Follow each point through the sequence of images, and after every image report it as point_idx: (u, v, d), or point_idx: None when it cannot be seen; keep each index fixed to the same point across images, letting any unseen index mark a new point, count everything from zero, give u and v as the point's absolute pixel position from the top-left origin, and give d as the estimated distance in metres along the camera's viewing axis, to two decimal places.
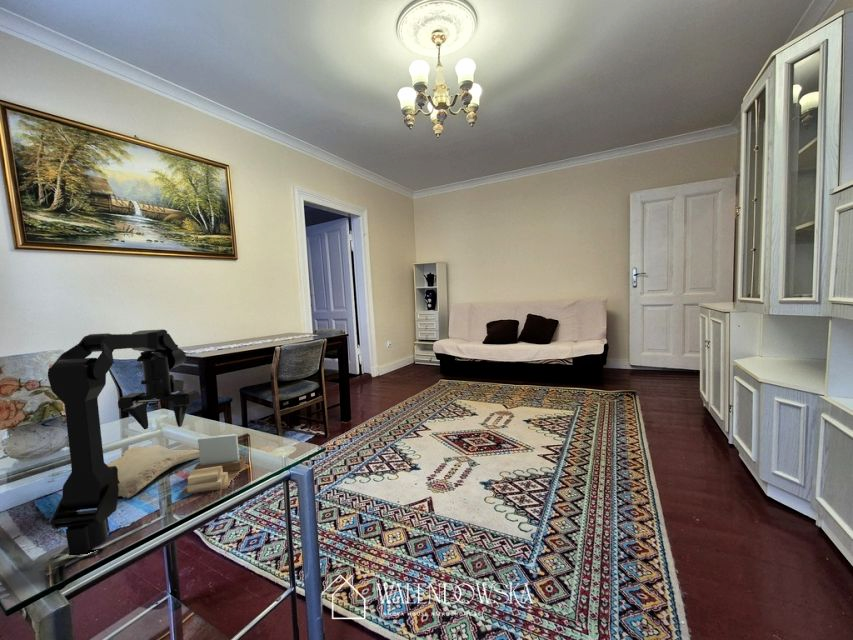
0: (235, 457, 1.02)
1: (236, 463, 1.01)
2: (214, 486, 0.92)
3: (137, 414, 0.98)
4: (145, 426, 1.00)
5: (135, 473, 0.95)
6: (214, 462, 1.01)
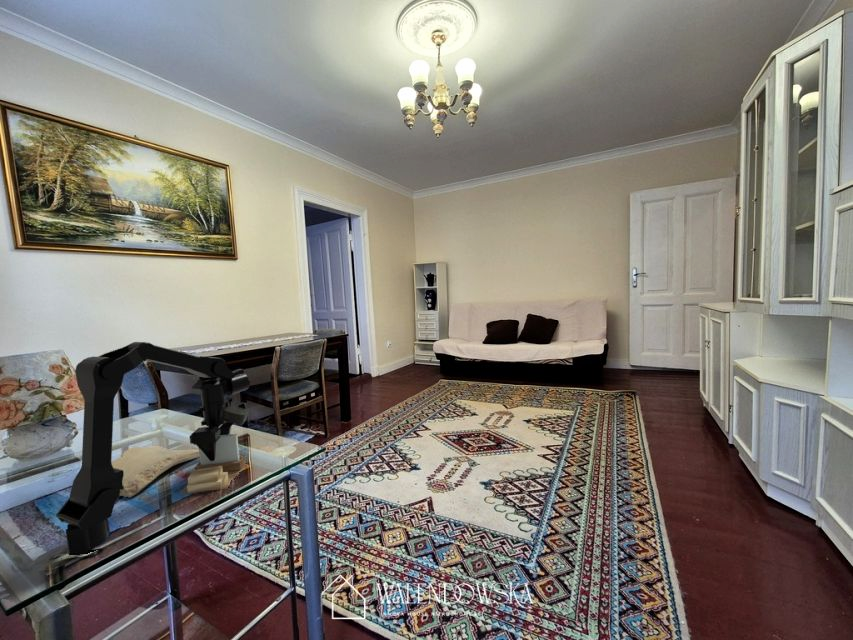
0: (235, 457, 1.02)
1: (236, 463, 1.01)
2: (214, 486, 0.92)
3: None
4: None
5: (136, 473, 0.95)
6: (214, 462, 1.01)
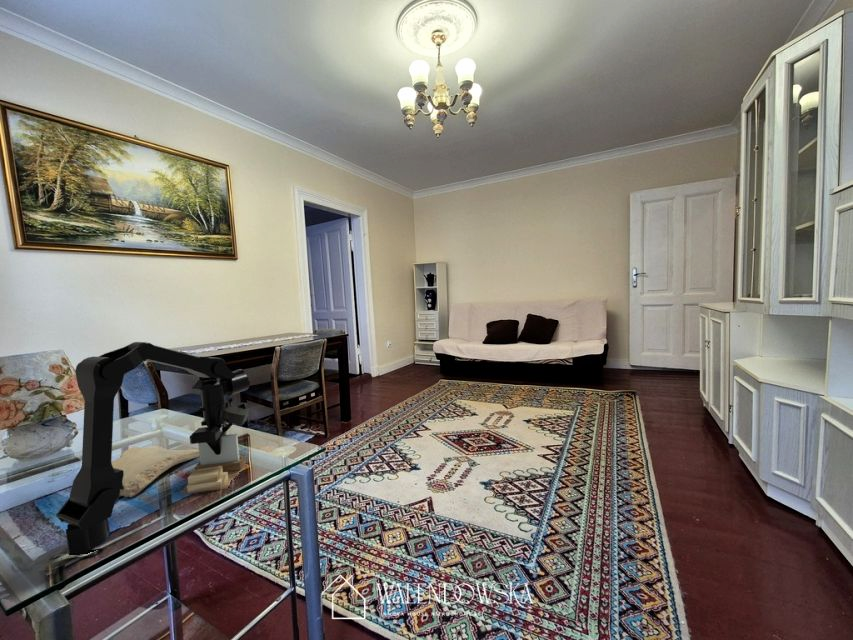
0: (235, 457, 1.02)
1: (236, 463, 1.01)
2: (214, 486, 0.92)
3: None
4: None
5: (136, 473, 0.95)
6: (214, 462, 1.01)
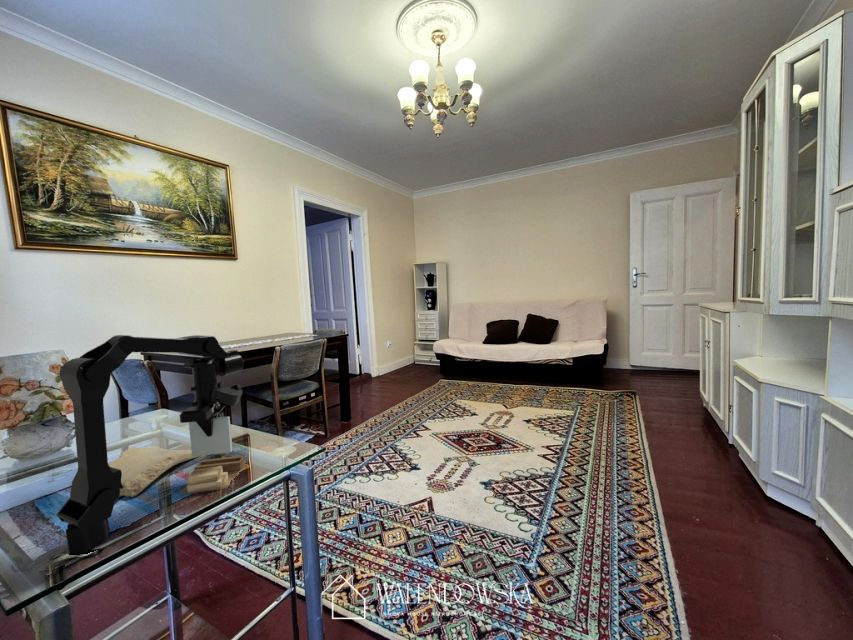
0: (227, 440, 0.99)
1: (236, 463, 1.01)
2: (214, 486, 0.92)
3: None
4: None
5: (137, 473, 0.95)
6: (205, 445, 0.98)
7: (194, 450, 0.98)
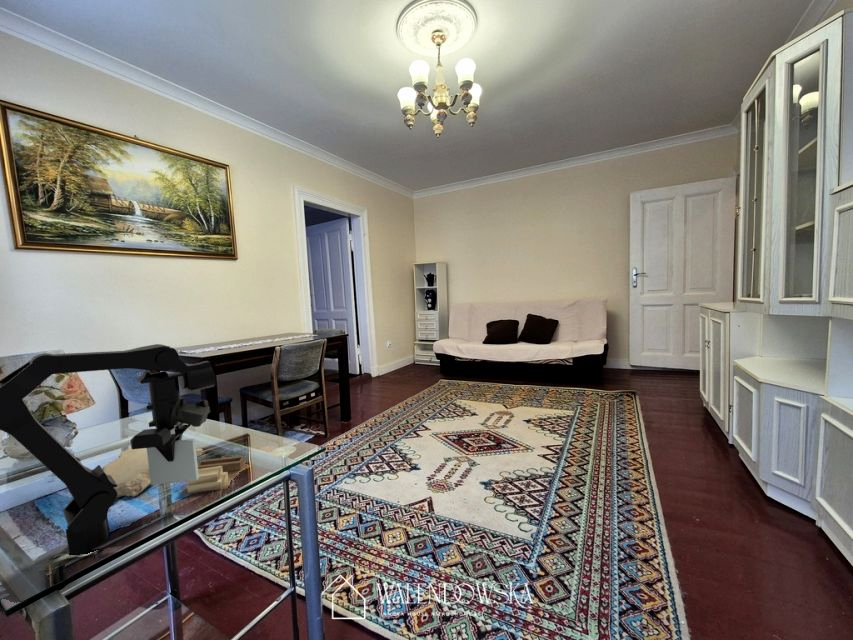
0: (192, 466, 0.86)
1: (236, 463, 1.01)
2: (214, 486, 0.92)
3: None
4: None
5: (137, 472, 0.96)
6: (166, 472, 0.85)
7: (154, 478, 0.84)
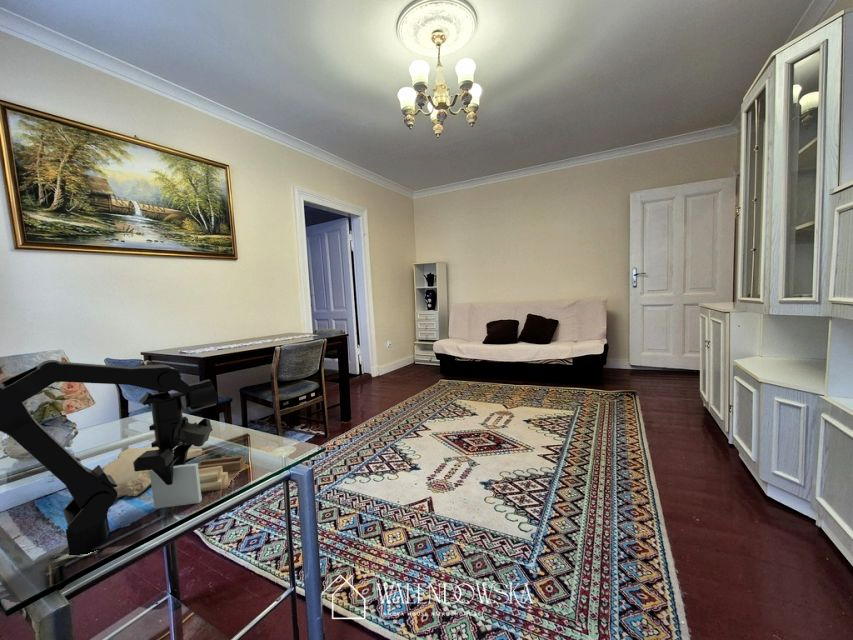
0: (195, 491, 0.86)
1: (236, 463, 1.01)
2: (214, 486, 0.92)
3: None
4: None
5: (138, 472, 0.96)
6: (169, 497, 0.85)
7: (157, 503, 0.85)
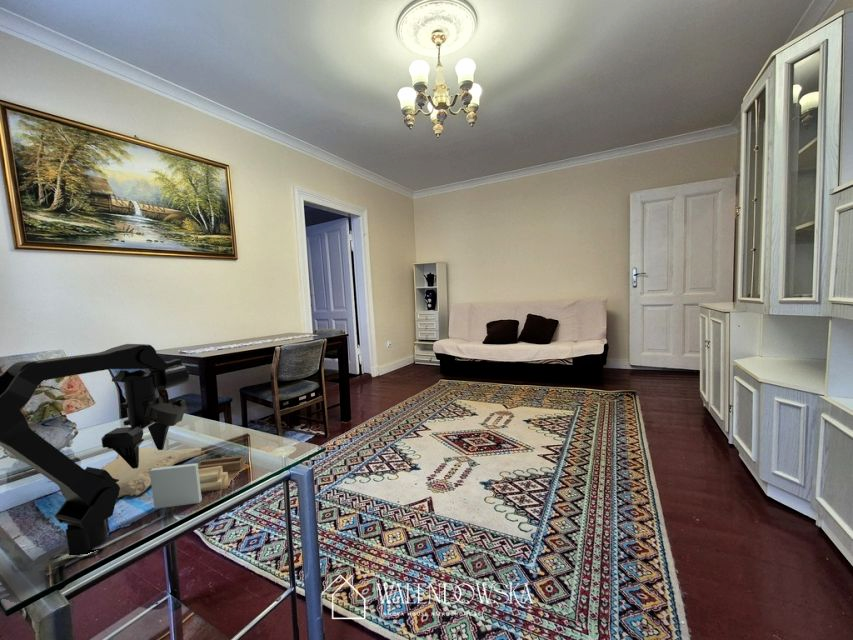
0: (195, 491, 0.86)
1: (236, 463, 1.01)
2: (214, 486, 0.92)
3: (152, 431, 0.90)
4: (158, 447, 0.90)
5: (139, 472, 0.96)
6: (169, 497, 0.85)
7: (157, 503, 0.85)
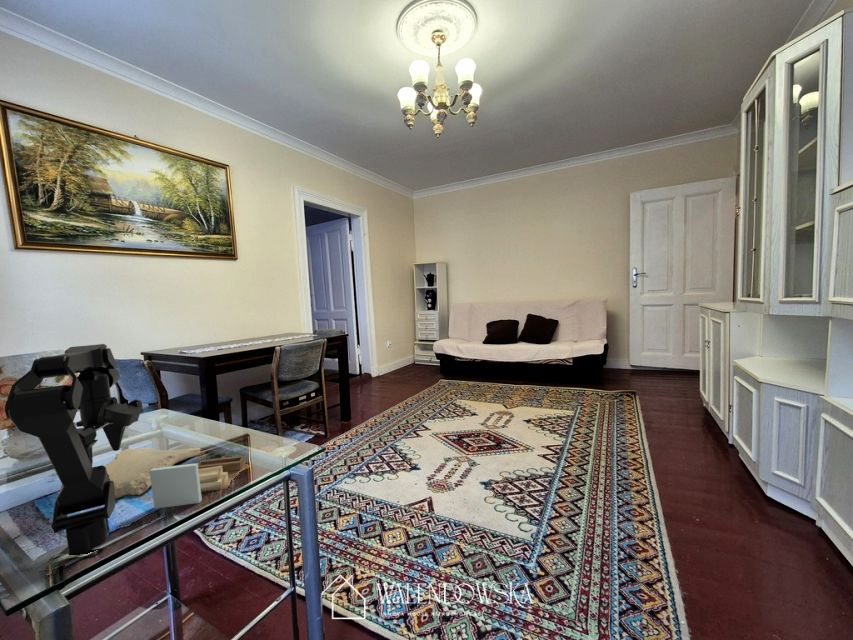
0: (195, 491, 0.86)
1: (236, 463, 1.01)
2: (214, 486, 0.92)
3: (107, 432, 0.90)
4: (113, 447, 0.90)
5: (140, 472, 0.96)
6: (169, 497, 0.85)
7: (157, 503, 0.85)
